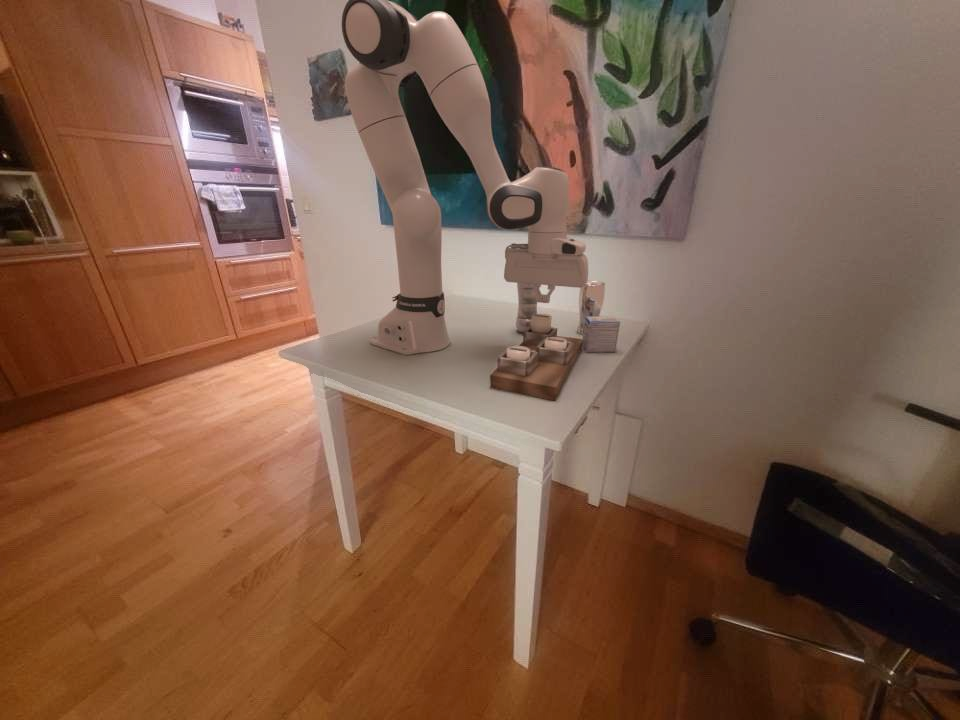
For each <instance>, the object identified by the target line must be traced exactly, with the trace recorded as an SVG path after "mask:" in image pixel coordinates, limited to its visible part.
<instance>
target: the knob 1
mask: <svg viewBox="0 0 960 720" xmlns="http://www.w3.org/2000/svg"><path fill="white" fill-rule="evenodd" d="M506 348H507V347H506ZM507 358H509V359H515V360H521V361H527V360H528V359H529V358H530V349H529V348H527V347H524V346H519V345H512V346H509V348H507Z"/></svg>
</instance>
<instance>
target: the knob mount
mask: <svg viewBox="0 0 960 720" xmlns="http://www.w3.org/2000/svg"><path fill="white" fill-rule="evenodd" d="M522 334H523V335H522V336H523V337H522V338H523V339H522V340H523V341H521V342H520V344H519V345H518V346H524V347H527V348H529V349H530V358H529V359H528V360H527V361H521V360H515V359H509V358H507V348H509V347H510V346H509V347H506V348H505V349H504V350H503V351H502V352H501V353H500V354H499V355H498V356H497V357H496V361H497V363H496V369H495V370H494V371H492V372H491V373H490V374H489V375H490V376H489V379H490V380H489V384H490V385H489V387H490V388H491V389H496V390H501V391H505V392H510V393H514V394H520V395H525V396H530V397H534V398H539V399H543V400H549V401H554V402H555V401H557V398H558V396H559V394H560V392H561V390H562V388H563V387H564V385H565V382H566V381H567V379H568V377H569V375H570V373H571V371H572V369H573V368H572V367H574V365H575V363H576V362H577V360H578V358H579V356H580V354H581V352H582V350H583V347H582V344H583V338H578V337H577V338H575V337H570V336H569V337H568V336H562V335H558V328H557V327H553V326H551V332H550V333H549V334H538V333H532V332H531V325H530V326H529V327H528V328H527V329H526V330H525V331H524V333H522ZM549 337H560V338H564V339H566V340H567V347H566V350H565V351H562V350H555V349H549V348H544V345H545V339H546V338H549Z"/></svg>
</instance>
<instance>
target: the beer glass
mask: <svg viewBox="0 0 960 720" xmlns="http://www.w3.org/2000/svg"><path fill="white" fill-rule="evenodd" d="M605 286H606V283H605V282H602V281H600V280H599V281H598V280H597V281H596V280H588V282H587V284H586V285H585V286H584V287H582V288H580V289H579V294H578V295H579V296H578V312H579V320H578V321H579V322H578V326H577V328H576V329H577V330H576V332H577V333H578V334H579V335H581V336H583V332H584V323H585V317H600V316H601V311H602V308H603V305H604V300H605V293H606V291H605V289H606V288H605Z"/></svg>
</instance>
